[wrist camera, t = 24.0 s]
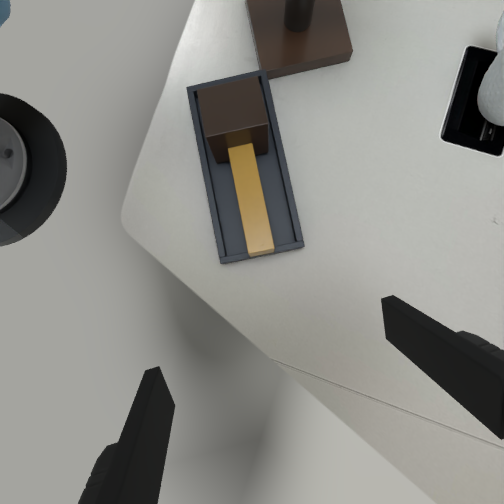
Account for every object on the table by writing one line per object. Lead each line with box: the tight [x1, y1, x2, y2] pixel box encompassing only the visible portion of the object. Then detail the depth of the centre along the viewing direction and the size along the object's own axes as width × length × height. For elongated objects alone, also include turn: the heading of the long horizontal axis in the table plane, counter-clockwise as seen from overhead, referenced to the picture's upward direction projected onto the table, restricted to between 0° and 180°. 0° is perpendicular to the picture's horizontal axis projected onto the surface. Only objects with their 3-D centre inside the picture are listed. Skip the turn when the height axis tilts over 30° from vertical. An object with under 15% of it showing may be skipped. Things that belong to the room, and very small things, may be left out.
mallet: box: [197, 76, 275, 257], centre depth 30 cm, size 19×7×6 cm, turn 11°
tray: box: [187, 69, 304, 264], centre depth 34 cm, size 24×11×2 cm, turn 11°
